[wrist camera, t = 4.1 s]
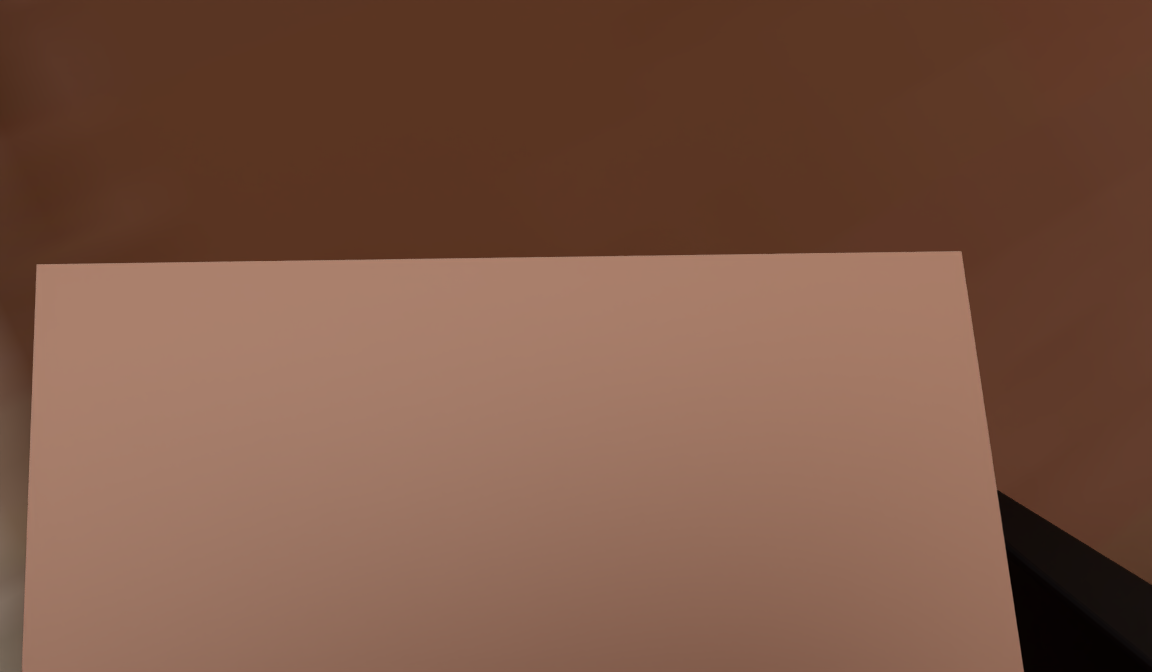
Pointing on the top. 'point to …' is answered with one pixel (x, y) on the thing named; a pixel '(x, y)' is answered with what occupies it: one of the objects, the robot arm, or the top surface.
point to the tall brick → (513, 467)
